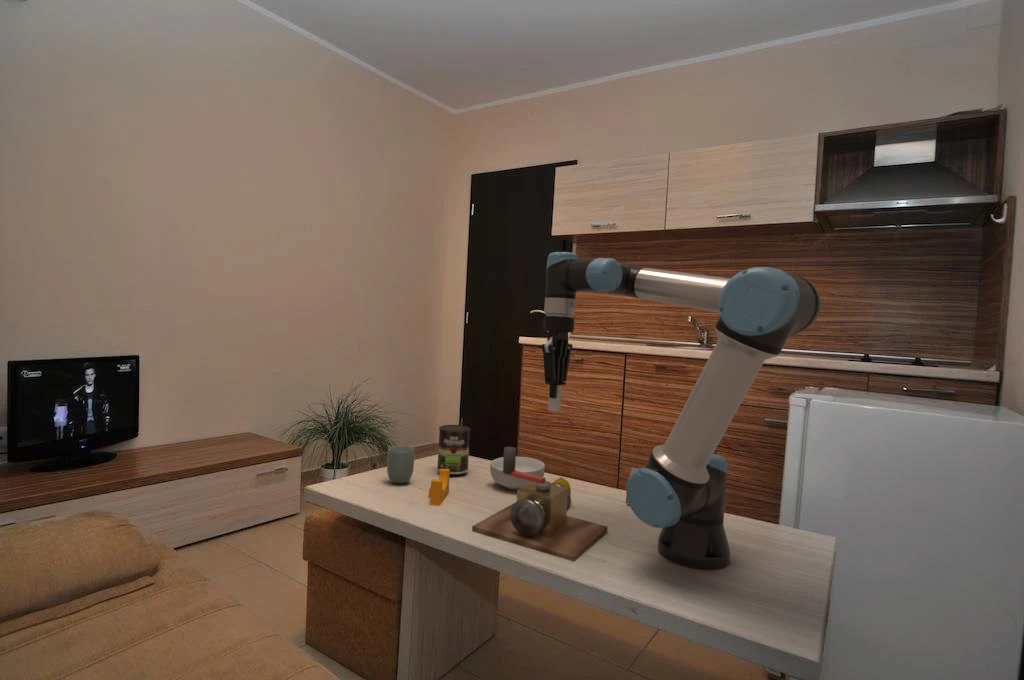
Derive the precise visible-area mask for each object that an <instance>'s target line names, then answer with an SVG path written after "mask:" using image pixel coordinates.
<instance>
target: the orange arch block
mask: <svg viewBox="0 0 1024 680" xmlns="http://www.w3.org/2000/svg"><path fill="white" fill-rule="evenodd" d="M438 472H439V471H438ZM450 475H451V474H450V469H440V472H439V475H438V478H437V479H436V478H432V480H431V481H430V487H429V489H428V498H429V500H430V501H429V505H430V506H437V507H440V506H441V505H442V503H443V501H444V500H445V498H446V496H447V495H448V493H449V492H450Z"/></svg>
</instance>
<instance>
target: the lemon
mask: <svg viewBox="0 0 1024 680" xmlns="http://www.w3.org/2000/svg"><path fill="white" fill-rule="evenodd" d="M552 483H559V484H562V485H563V486H564V487H565V488H568V491H569V493H570V496H572V495H571V493H572V491H571V485H570V483H569V481H568V480H566V479H565V478H563V476H560V477H559V478H556V479H554V481H553V482H552Z"/></svg>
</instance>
